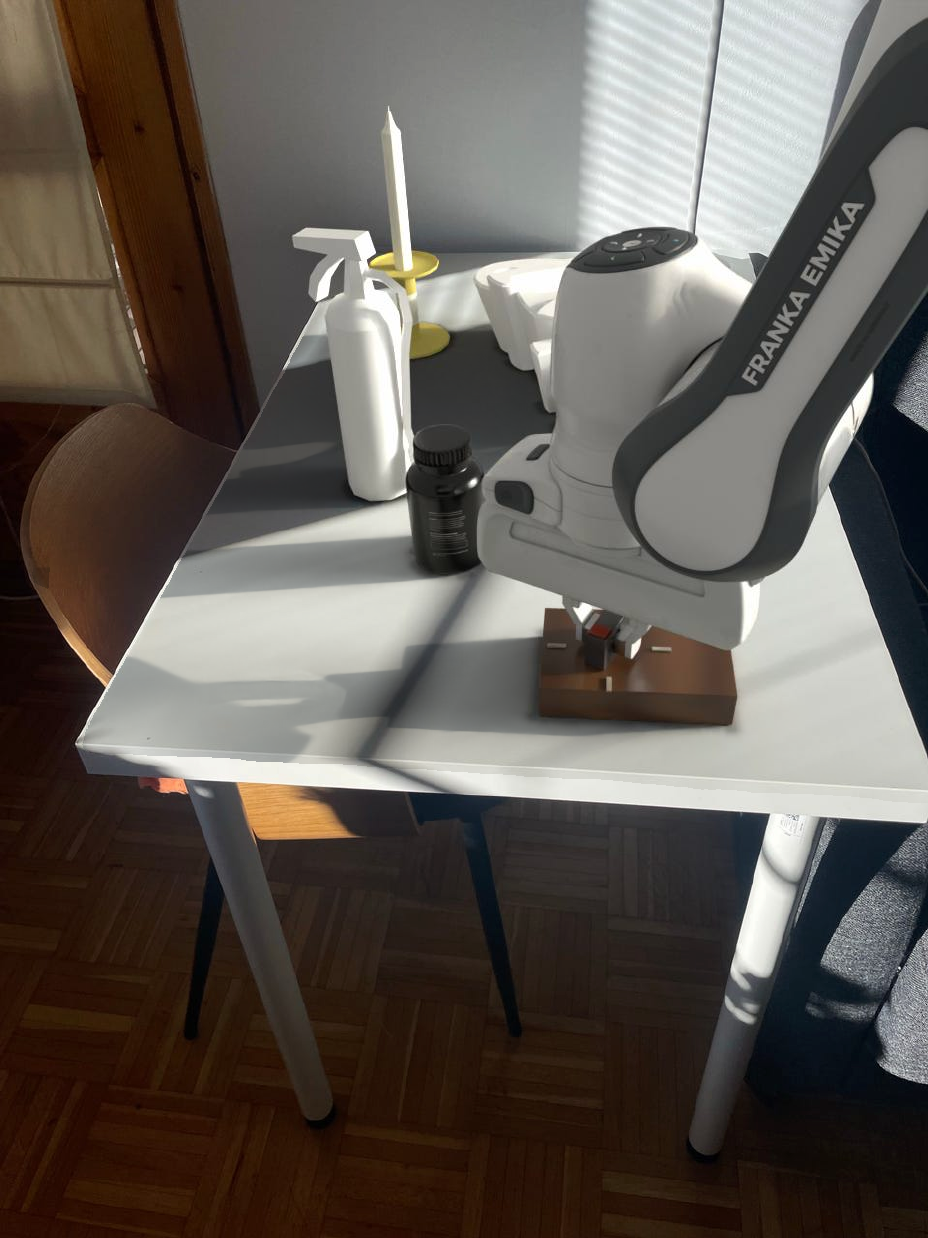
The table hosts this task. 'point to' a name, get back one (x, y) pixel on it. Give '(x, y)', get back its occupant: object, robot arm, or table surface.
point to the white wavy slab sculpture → (523, 312)
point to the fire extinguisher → (366, 362)
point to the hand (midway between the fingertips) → (607, 644)
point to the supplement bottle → (444, 499)
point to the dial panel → (635, 678)
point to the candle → (406, 248)
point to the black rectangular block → (602, 639)
